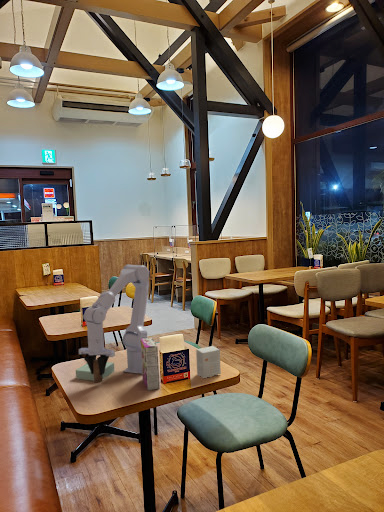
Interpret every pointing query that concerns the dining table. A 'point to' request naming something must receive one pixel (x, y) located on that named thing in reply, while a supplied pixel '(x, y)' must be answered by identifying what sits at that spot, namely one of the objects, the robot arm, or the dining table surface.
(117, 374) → the dining table surface
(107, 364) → the socket block
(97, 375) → the walnut peg
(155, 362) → the candy bar box
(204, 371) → the small box
